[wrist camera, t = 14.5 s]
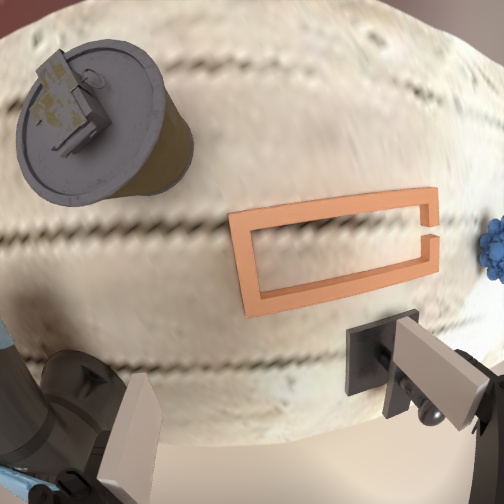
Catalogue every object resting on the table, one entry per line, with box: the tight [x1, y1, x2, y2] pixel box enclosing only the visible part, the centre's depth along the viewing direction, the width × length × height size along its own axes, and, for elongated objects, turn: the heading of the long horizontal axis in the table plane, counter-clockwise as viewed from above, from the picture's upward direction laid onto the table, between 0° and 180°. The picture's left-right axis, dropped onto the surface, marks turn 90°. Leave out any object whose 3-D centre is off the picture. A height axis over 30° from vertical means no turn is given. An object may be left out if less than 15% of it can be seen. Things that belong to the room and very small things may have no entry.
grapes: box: [479, 216, 504, 284], centre depth 31 cm, size 12×7×12 cm, turn 6°
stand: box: [345, 309, 446, 426], centre depth 31 cm, size 12×15×17 cm
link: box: [228, 187, 439, 318], centre depth 33 cm, size 28×12×2 cm, turn 99°
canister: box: [16, 39, 193, 207], centre depth 20 cm, size 11×10×20 cm
